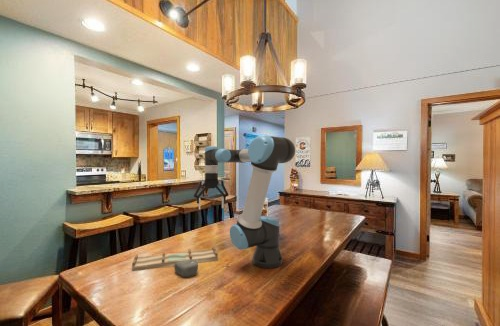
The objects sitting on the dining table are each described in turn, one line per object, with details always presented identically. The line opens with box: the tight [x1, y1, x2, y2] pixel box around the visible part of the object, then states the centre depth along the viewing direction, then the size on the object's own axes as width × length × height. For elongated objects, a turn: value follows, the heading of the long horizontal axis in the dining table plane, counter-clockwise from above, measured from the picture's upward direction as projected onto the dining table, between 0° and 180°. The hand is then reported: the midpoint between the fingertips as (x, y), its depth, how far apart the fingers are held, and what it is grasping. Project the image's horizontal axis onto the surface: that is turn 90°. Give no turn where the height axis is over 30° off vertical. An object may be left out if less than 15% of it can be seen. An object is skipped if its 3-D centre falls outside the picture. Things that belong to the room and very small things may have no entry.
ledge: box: [131, 246, 219, 272], centre depth 121 cm, size 11×40×4 cm, turn 108°
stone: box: [173, 259, 199, 278], centre depth 107 cm, size 9×9×10 cm
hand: (211, 208), depth 139 cm, fingers open, 13 cm apart
